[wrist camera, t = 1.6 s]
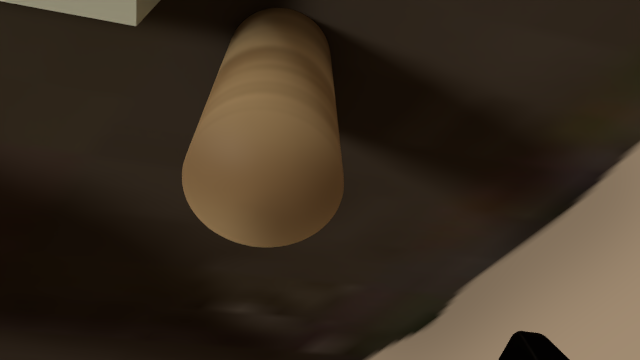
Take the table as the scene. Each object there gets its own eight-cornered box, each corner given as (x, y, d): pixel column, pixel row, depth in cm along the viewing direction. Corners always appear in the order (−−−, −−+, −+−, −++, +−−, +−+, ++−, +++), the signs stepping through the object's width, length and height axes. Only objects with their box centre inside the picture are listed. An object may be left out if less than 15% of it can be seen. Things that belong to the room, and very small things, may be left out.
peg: (319, 113, 19) (326, 256, 13) (223, 97, 19) (177, 236, 12) (340, 19, 18) (361, 128, 11) (233, -2, 17) (187, 98, 10)
